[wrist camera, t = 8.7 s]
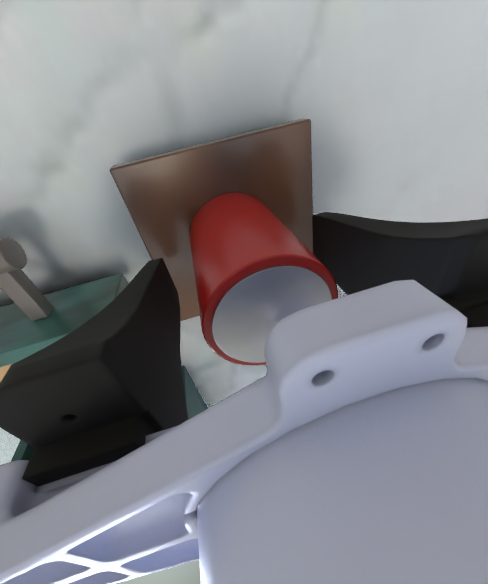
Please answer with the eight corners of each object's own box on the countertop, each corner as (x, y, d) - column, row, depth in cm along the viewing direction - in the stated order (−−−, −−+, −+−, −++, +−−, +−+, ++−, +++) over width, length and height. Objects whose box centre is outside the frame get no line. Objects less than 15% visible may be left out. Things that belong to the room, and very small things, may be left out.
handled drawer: (84, 205, 12) (50, 242, 9) (186, 383, 22) (189, 435, 18) (-193, 276, 12) (-351, 348, 8) (39, 430, 21) (12, 493, 18)
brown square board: (290, 117, 13) (311, 118, 11) (299, 263, 19) (314, 281, 17) (118, 159, 13) (108, 169, 11) (179, 298, 18) (180, 321, 16)
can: (269, 181, 12) (344, 237, 7) (278, 261, 15) (337, 345, 10) (176, 206, 12) (180, 284, 7) (203, 283, 15) (222, 382, 9)
